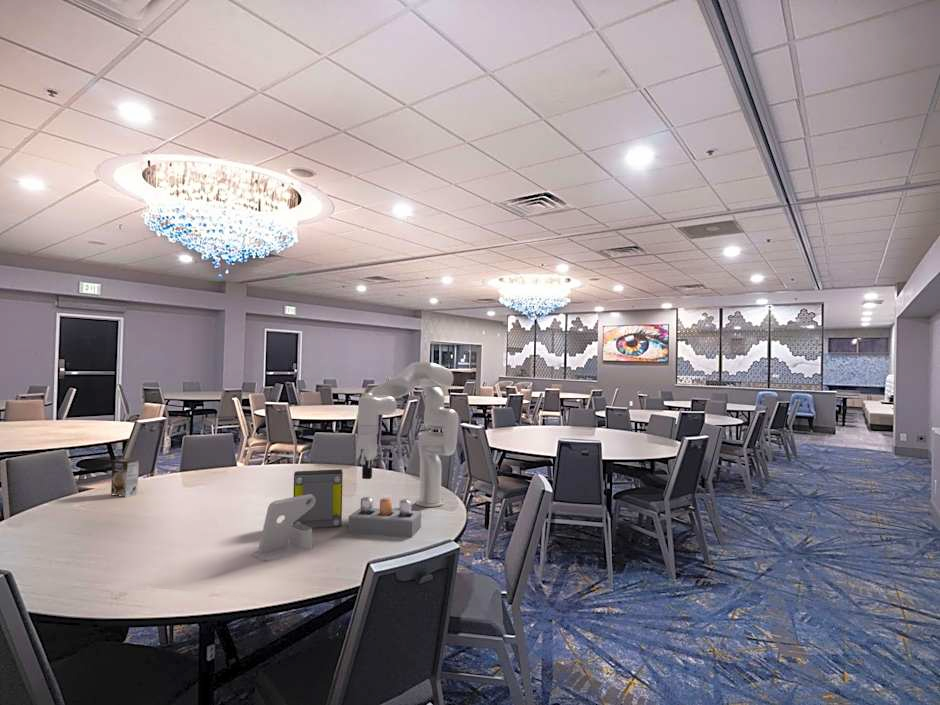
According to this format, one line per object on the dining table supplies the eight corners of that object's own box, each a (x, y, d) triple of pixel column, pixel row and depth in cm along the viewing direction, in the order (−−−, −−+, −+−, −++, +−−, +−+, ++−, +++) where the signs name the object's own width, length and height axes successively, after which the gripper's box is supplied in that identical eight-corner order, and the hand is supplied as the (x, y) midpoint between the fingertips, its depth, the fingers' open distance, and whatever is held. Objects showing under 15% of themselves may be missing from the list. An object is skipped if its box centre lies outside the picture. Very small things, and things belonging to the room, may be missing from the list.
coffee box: (110, 495, 238) (111, 460, 238) (123, 492, 244) (124, 457, 244) (125, 497, 235) (126, 461, 236) (138, 494, 241) (139, 459, 242)
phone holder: (298, 541, 181) (300, 488, 181) (315, 548, 174) (317, 493, 175) (250, 554, 167) (252, 497, 168) (266, 562, 161) (268, 503, 161)
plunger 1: (363, 510, 198) (363, 496, 198) (374, 511, 197) (374, 497, 198) (358, 513, 194) (358, 499, 194) (369, 514, 193) (370, 499, 193)
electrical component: (292, 530, 192) (293, 476, 192) (293, 522, 201) (295, 470, 202) (341, 527, 196) (342, 474, 197) (340, 519, 206) (341, 469, 207)
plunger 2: (401, 512, 196) (401, 498, 196) (412, 513, 195) (412, 499, 195) (397, 516, 191) (397, 501, 191) (409, 517, 190) (409, 502, 191)
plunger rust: (382, 511, 197) (382, 497, 197) (393, 512, 196) (393, 498, 196) (378, 514, 193) (378, 500, 193) (389, 515, 192) (389, 501, 192)
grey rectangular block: (360, 523, 202) (361, 507, 202) (420, 527, 198) (421, 511, 198) (348, 532, 190) (348, 516, 190) (412, 537, 186) (412, 520, 186)
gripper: (365, 426, 204) (364, 474, 204) (350, 431, 190) (349, 482, 189) (384, 427, 203) (383, 475, 203) (370, 432, 188) (369, 483, 188)
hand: (367, 478), depth 196 cm, fingers closed
